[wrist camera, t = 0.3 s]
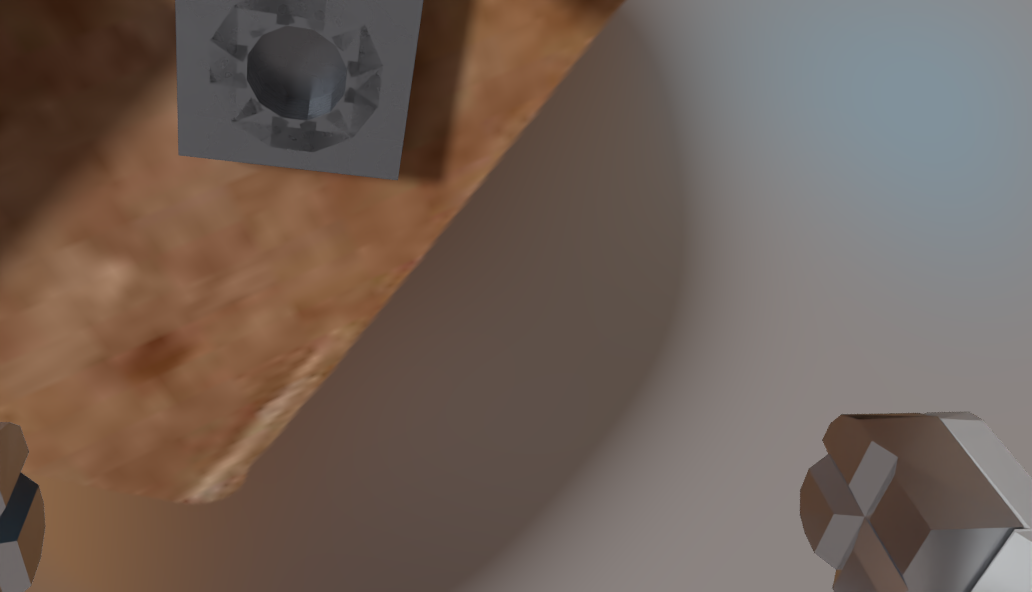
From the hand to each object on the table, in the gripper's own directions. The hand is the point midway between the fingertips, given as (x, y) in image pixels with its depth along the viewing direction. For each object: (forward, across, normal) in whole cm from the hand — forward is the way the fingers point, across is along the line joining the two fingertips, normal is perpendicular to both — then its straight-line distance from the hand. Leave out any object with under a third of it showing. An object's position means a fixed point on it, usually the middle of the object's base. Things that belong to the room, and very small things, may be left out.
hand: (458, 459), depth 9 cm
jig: (+46, +4, +11) cm, 47 cm away
